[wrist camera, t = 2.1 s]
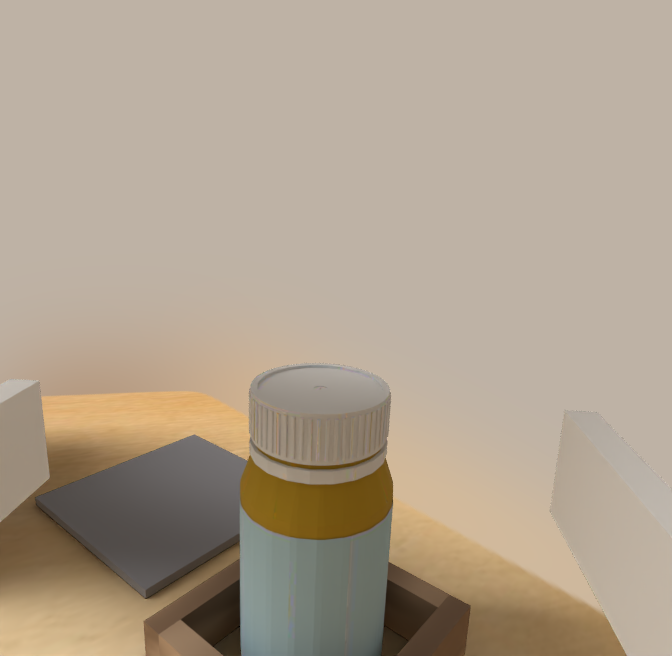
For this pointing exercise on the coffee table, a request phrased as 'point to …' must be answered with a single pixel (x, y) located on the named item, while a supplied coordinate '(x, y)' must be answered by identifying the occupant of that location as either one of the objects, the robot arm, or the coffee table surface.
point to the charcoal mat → (155, 511)
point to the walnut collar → (224, 616)
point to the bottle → (315, 513)
